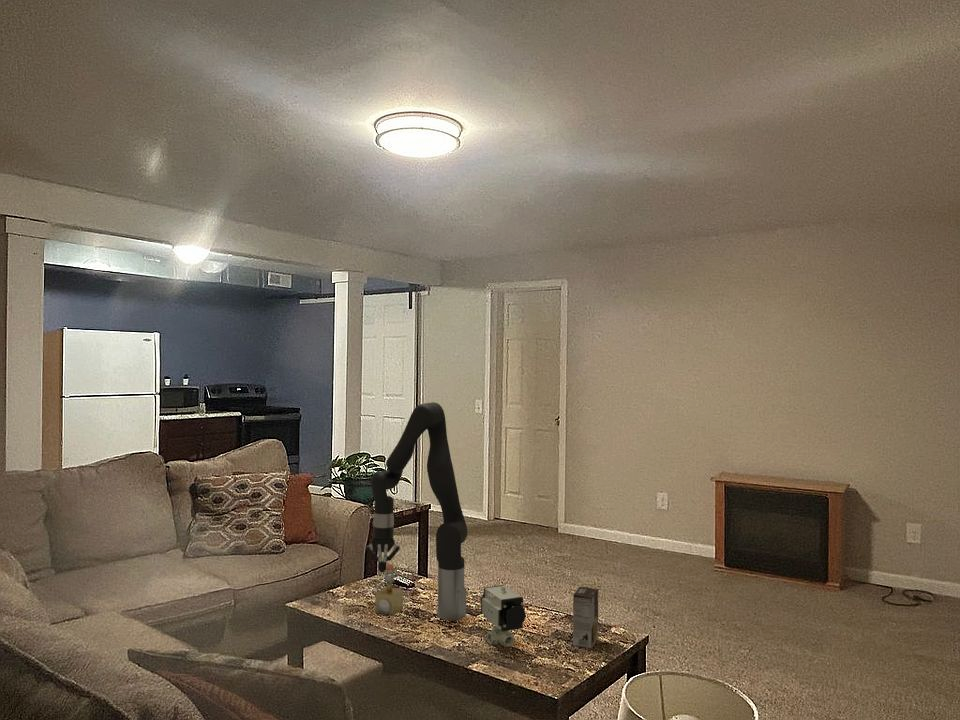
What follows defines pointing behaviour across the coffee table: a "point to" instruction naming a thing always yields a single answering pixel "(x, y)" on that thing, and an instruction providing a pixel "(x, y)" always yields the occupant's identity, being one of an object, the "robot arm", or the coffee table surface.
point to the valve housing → (389, 600)
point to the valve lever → (389, 574)
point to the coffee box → (585, 617)
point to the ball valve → (502, 613)
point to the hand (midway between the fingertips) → (382, 571)
